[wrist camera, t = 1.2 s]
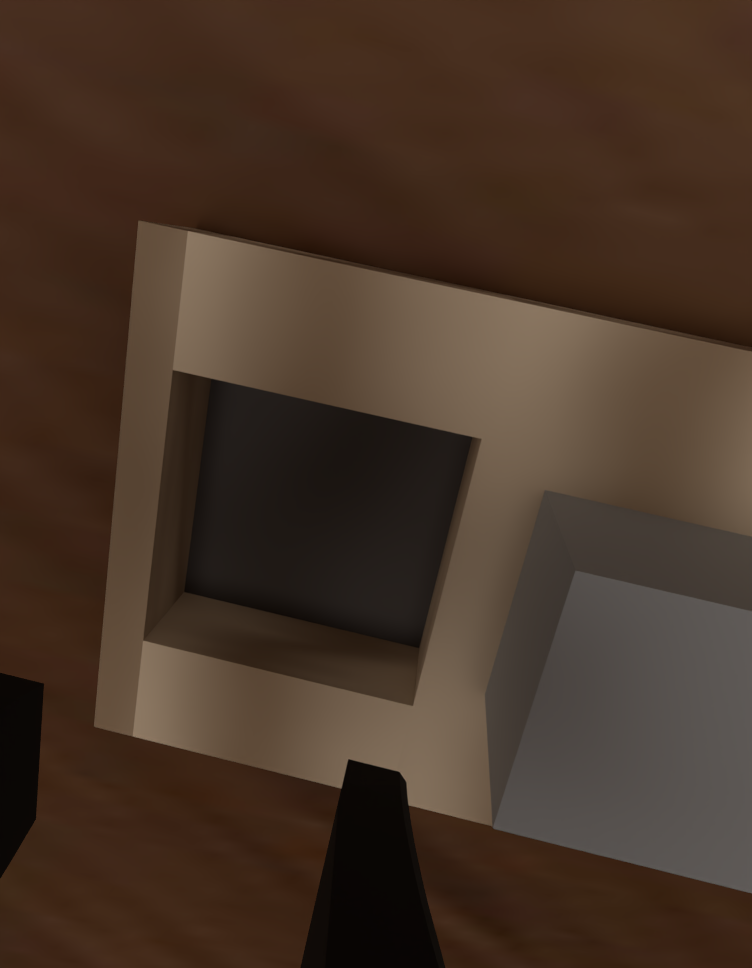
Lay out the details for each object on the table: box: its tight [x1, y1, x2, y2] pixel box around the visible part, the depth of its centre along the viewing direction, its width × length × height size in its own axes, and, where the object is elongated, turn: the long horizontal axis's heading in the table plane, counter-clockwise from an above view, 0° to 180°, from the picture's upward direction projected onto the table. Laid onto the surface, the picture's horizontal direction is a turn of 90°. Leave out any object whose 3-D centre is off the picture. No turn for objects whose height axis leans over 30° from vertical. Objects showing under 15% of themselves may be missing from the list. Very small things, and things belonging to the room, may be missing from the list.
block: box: [485, 490, 752, 893], centre depth 13 cm, size 5×5×4 cm
